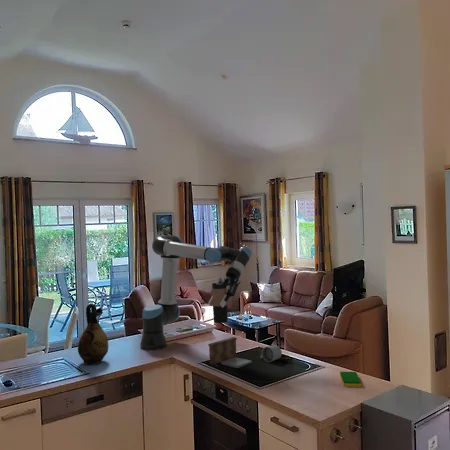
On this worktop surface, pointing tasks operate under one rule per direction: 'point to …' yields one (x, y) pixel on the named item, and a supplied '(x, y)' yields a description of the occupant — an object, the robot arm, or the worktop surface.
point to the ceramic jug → (93, 338)
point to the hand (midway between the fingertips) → (215, 305)
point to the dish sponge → (350, 379)
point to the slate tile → (236, 362)
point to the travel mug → (218, 311)
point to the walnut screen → (222, 350)
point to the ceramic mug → (271, 353)
